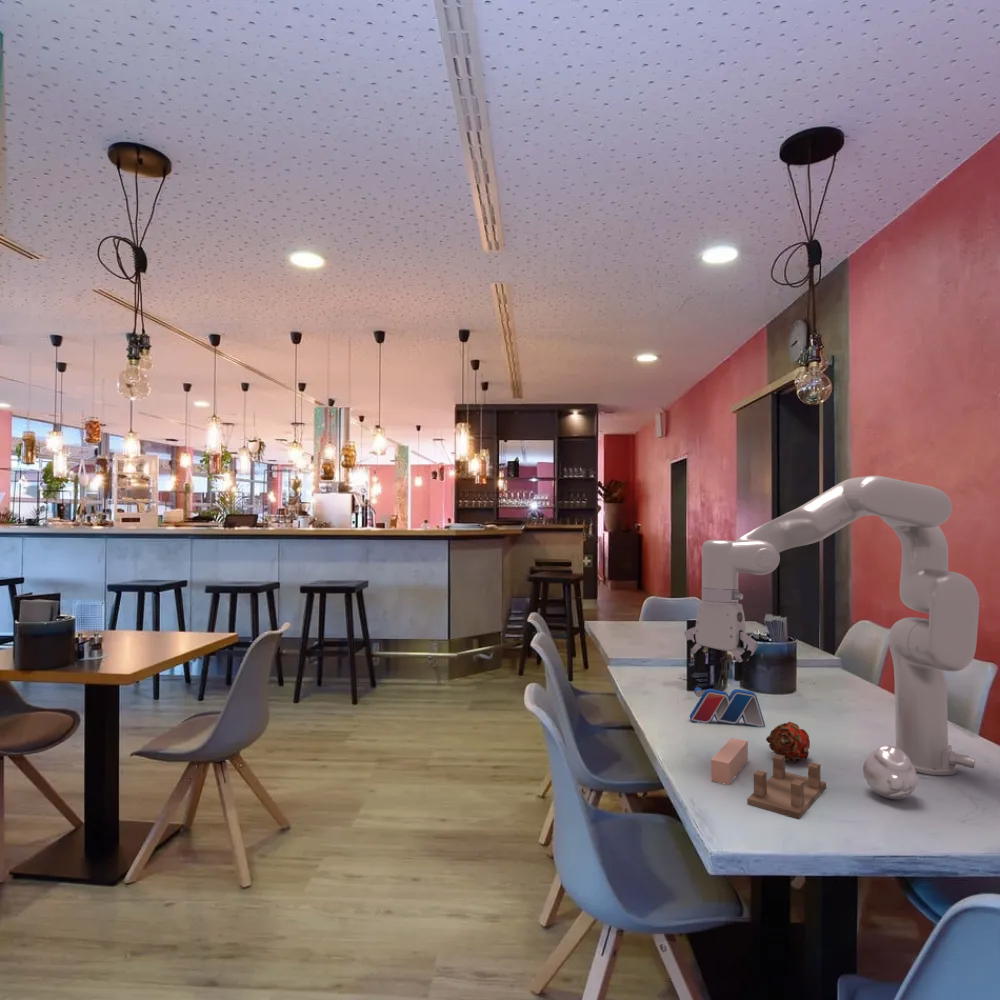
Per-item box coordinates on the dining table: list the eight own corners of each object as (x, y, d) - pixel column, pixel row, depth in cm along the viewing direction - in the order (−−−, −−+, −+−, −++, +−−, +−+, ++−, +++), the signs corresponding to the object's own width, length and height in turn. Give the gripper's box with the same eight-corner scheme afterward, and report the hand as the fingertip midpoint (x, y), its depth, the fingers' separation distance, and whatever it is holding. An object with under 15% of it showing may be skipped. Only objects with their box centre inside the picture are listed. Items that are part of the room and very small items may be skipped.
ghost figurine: (861, 800, 117) (860, 747, 118) (865, 784, 125) (864, 733, 126) (919, 813, 112) (918, 757, 113) (919, 795, 120) (918, 742, 121)
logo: (690, 721, 164) (694, 683, 165) (689, 718, 167) (694, 681, 167) (763, 735, 161) (768, 696, 161) (761, 732, 163) (766, 694, 163)
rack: (778, 775, 129) (778, 750, 130) (826, 787, 123) (825, 761, 124) (747, 803, 116) (747, 776, 116) (799, 818, 110) (798, 790, 110)
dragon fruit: (789, 776, 133) (783, 764, 144) (824, 755, 132) (814, 745, 143) (763, 739, 136) (758, 731, 147) (797, 718, 135) (789, 711, 146)
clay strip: (731, 758, 139) (731, 737, 140) (747, 761, 138) (747, 741, 138) (711, 782, 126) (711, 759, 126) (729, 786, 124) (728, 763, 125)
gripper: (766, 599, 132) (766, 681, 131) (695, 591, 146) (695, 665, 145) (747, 601, 127) (746, 686, 127) (676, 593, 141) (675, 669, 140)
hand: (719, 675), depth 136 cm, fingers open, 9 cm apart
